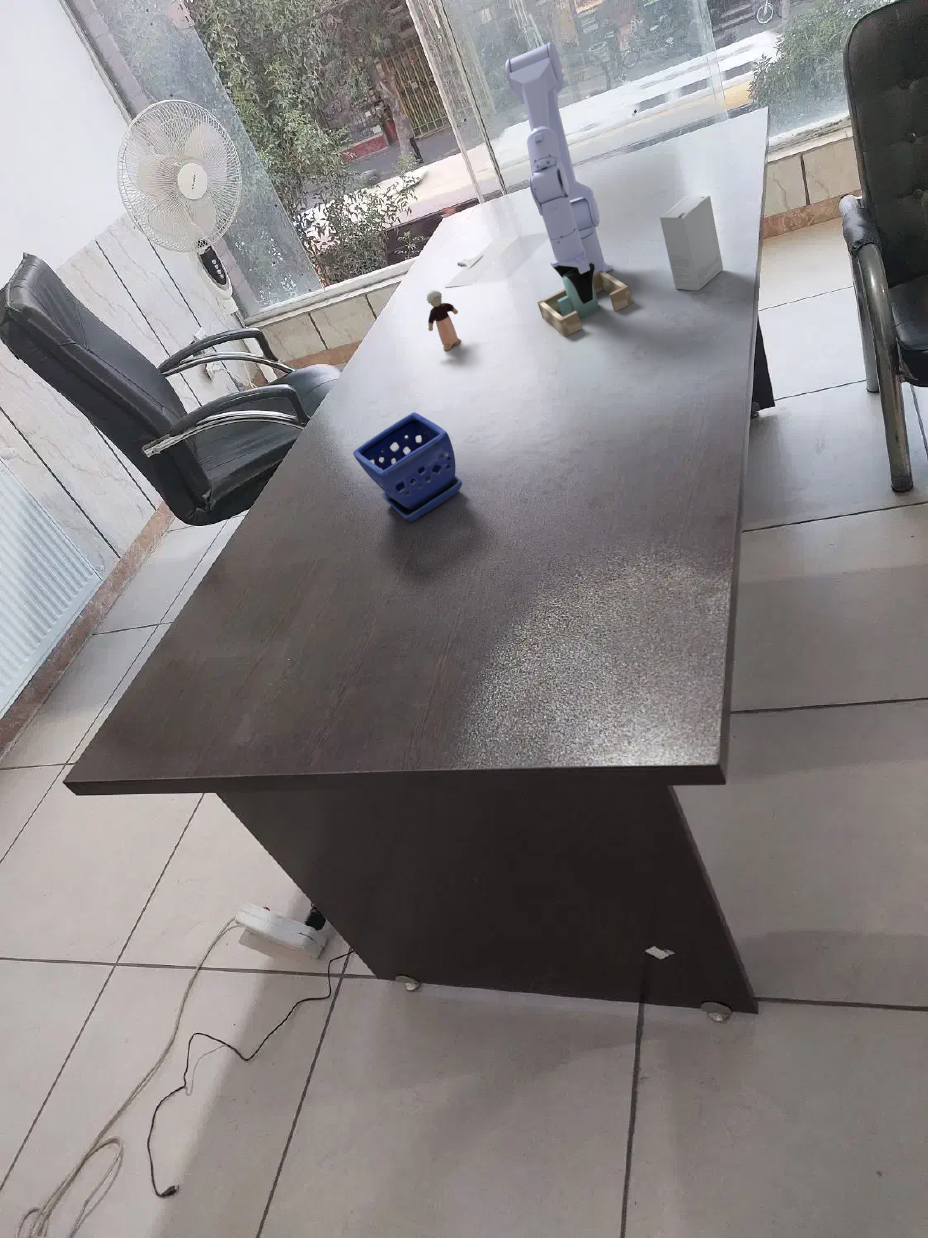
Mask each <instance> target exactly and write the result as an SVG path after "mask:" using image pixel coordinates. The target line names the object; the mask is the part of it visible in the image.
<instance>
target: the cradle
mask: <svg viewBox="0 0 928 1238" xmlns="http://www.w3.org/2000/svg"><path fill="white" fill-rule="evenodd" d="M592 283H593V286H594V290H595V293H596V294H597V293H599V292H601V291H602V289H603V290H604V291H606V292H607V293H609V294H608V295H609V297H610V301H611V305H612V309H613V311H615V312H617V311H620V310H621V309H624V308H625V307H627V306H629V305H632V304H633V300H632V296H631V292H630V291H631V290H630V288H629V285H626V284H625V283H623V282H621V280H618V279H617V278H615V277H614V276H612V275H610V274H609V273H607V272H604V271H602V270H601V271H599V272H597V273H595V274H593V280H592ZM565 296H567V293H566V290H565V288H563V289H561V290H559V291H558V292H555V293H554V294H551V295H548V296H547V297H545V298H544V299H542V300H540V301H538V302H537V305H538V309H539V312H540V314H541V317H542V319H543V320H544V321H545V322H547V323H549V324H550V326H552V327H553V328H554V329H555V330H557V332H559V333H560V334H561V335H562V336H564V337H565V338H566V337H568V336H569V335H572V334H574V333H576V332H577V331H580V330H582V329H583V327H582V324H581V321H580V320H581V319H580V318H579V317H578V313H577V312H576V311H574V312H570V313H568V314H566V315H564V316H563V315H562V314H560V313H558V312H561V311H560V308H559V305H558V301H557V300H559V299H561V298H563V297H565Z"/></svg>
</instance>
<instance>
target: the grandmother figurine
mask: <svg viewBox="0 0 928 1238" xmlns="http://www.w3.org/2000/svg"><path fill="white" fill-rule="evenodd" d="M442 297H443V296H442V292H440V291H439V290H438V289H437V290H436V289H434V290H432V289H431V290H430V291H429V292H428V293H427V294H426V301H427V303H428V304H430V305H431V307H432V308H431V310H430V312H429V316H428V321H427V322H428V329H427V330H428V331H429V332H433V330H434V327H433V326H434V323H435V324H436V329H437V332H438V336H439V338H440V341H441V344H442V345H443V346H442V347H443V351H445V352H447V351H449V350H451V349H452V348H453V345H454V346H456V345H458V344H460V343H462V340H461V338H459V337H458V336H457V332H456V328H455V326H454V324H453V321H452V319H451V317H450V315H449V314H448V313H449V312H451V313H453V314H454V315H458V313H459V311H458V309H456V308H455V306H454V305H453V304H452V303H450V302H449V303H448V302H443V300H442Z"/></svg>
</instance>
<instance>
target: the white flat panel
mask: <svg viewBox="0 0 928 1238" xmlns="http://www.w3.org/2000/svg"><path fill="white" fill-rule="evenodd" d="M518 238H519V236H511V237H510V236H509V237H503V238H496V239H494V240H492V241H491V242H490V243H489V244H488V245H487V246H486V247H485V248H483V250H481V251H480V253H478V254H477V255H476V256H475V257H472V258H469V259H463V260H462V261H459V262H457V266H460V267H464V268H462V269H461V270H460V272H458V273H457V274H456V275H455V276H454V277H453V278H452V279H450V281H449V282H448V283H446V285H445V286H444V288H452V287H453V288H454V287H456V288H457V287H465V286H472V285H474V284H475V283H476V282H477V280H479V278H480V277H482V276H483V274H484V273H485V272H486V271H487V270H488V269H489V268H490V267H491V266H492V265H493V263H495V262H496V261H497V260H498V258H499V257H500V256H501V255H502V254H503V253H504V252H506V250H508V249H509V247H510V246H511V245H512V244H513V243H514V242H515V241H516V240H517V239H518Z"/></svg>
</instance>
